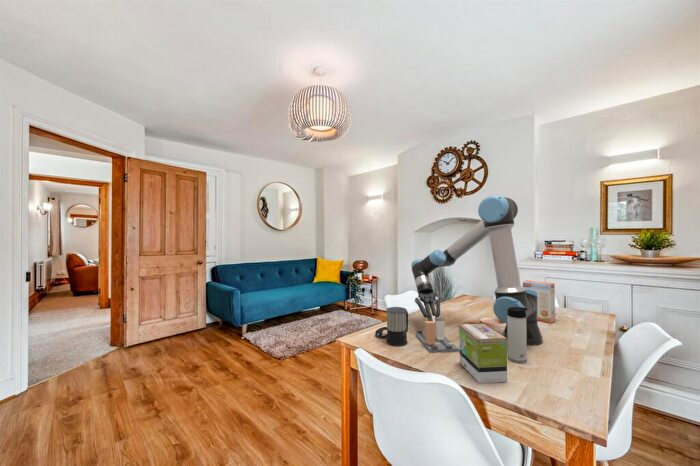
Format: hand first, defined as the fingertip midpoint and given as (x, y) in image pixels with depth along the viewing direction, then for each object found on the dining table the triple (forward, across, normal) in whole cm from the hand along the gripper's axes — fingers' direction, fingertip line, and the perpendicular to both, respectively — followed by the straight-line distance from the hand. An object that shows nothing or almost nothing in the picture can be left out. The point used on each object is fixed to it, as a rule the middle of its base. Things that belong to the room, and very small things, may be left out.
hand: (436, 330), depth 131 cm
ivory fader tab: (+4, -1, 0) cm, 4 cm away
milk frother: (+1, +20, -6) cm, 21 cm away
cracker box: (-15, -68, -22) cm, 72 cm away
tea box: (+25, -5, +18) cm, 31 cm away
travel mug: (+19, -23, +12) cm, 32 cm away
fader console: (+5, +1, -1) cm, 5 cm away
